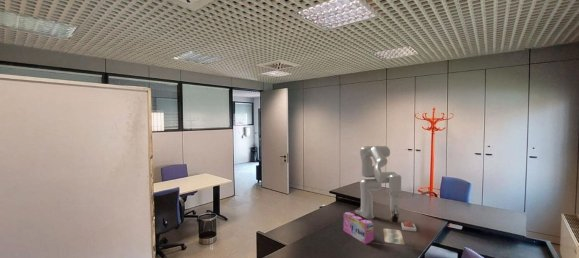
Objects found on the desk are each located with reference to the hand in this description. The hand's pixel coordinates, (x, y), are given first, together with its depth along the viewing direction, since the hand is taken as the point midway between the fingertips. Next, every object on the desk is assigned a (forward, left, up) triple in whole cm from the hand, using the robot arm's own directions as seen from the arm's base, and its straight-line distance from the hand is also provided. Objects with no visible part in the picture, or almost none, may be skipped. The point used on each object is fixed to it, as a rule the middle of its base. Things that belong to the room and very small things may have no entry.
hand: (394, 220), depth 168 cm
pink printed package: (-23, +2, -15) cm, 28 cm away
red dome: (+12, +24, -14) cm, 31 cm away
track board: (0, +7, -15) cm, 17 cm away
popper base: (+12, +24, -15) cm, 31 cm away
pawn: (0, 0, -1) cm, 1 cm away
